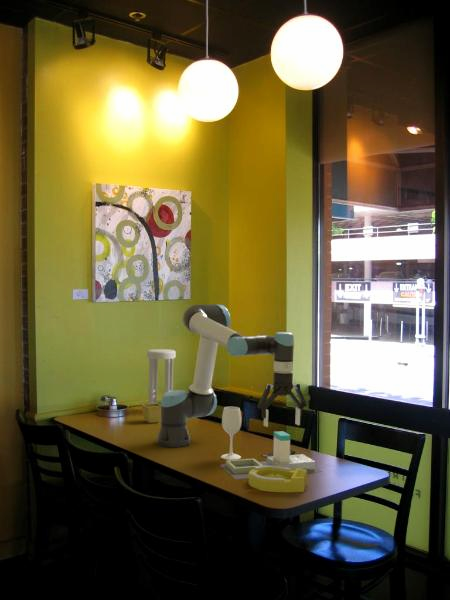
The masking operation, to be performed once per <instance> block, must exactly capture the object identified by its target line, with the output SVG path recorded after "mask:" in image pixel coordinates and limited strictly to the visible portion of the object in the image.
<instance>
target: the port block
mask: <svg viewBox="0 0 450 600" xmlns="http://www.w3.org/2000/svg"><path fill="white" fill-rule="evenodd" d="M266 461H267V465H270V466H280V467H286V468H290V469H291V470H294V471H295V469H296V468H300V469H303V470H306V471H315V467H316V461H315V460H313V459H312V458H310V457H309V456H307V455H305V454H304V453H303V454H302V453H301V454H294V455H290V463H280V464H279V463H277V462H276V461H275V460H273V456H271V457H267V458H266Z"/></svg>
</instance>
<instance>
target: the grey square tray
mask: <svg viewBox="0 0 450 600" xmlns="http://www.w3.org/2000/svg"><path fill="white" fill-rule="evenodd" d="M259 462H260V461H258V460H257V459H255V458H242V459H241V458H240V459H236V460H228V459H226V460H225V464H226V466H227V467H228V468H229V469H230V470H231V471H232V472H233V473H234V474H236V473H249V472H250V471H251V470H252V469H255V467H258V466H263V465H262V464H260V463H259ZM249 464H253V465H254V466H250V467H237V468H236V467H235V466H236V465H249Z"/></svg>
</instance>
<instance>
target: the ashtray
mask: <svg viewBox="0 0 450 600" xmlns="http://www.w3.org/2000/svg"><path fill="white" fill-rule="evenodd" d="M307 476H308V473H307V471H306V470H303V469H300V468H296V469H295V471H294V470H291V469H290V468H286V467H280V466H270V465H266V466H258V467H255V469H252V470H251V471H250V472H249V478H248V485H249V486H250V487H252V488H254V489H255V490H257V491H262V492H271V493H302V492H304V491H305V489H306V486H307V484H308V483H307V480H308V477H307Z"/></svg>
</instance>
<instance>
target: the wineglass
mask: <svg viewBox="0 0 450 600" xmlns="http://www.w3.org/2000/svg"><path fill="white" fill-rule="evenodd" d="M221 415H222V416H221V425H222V426H221V427H222V429H223V430H224V432H226V433H227V434H228V435H229V453H225V454H222V455H221V456H220V458H221V459H224V460H240V459H241V458H242V456H241V455H239V454H237V453H234V452H233V438H234V435H235V434H237V433H238V432H239V431H240V429H241V427H242V412H241V409H240V407H238V406H224V408H223V411H222V414H221Z"/></svg>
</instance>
